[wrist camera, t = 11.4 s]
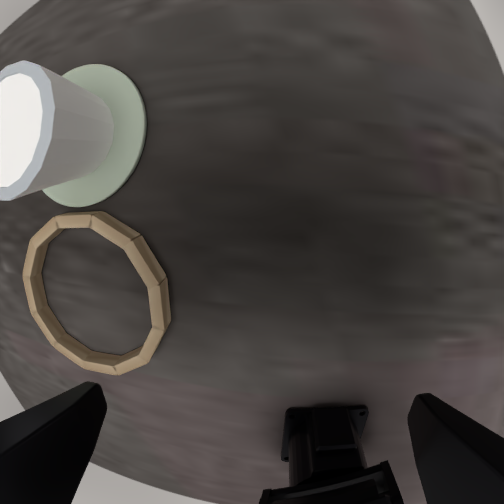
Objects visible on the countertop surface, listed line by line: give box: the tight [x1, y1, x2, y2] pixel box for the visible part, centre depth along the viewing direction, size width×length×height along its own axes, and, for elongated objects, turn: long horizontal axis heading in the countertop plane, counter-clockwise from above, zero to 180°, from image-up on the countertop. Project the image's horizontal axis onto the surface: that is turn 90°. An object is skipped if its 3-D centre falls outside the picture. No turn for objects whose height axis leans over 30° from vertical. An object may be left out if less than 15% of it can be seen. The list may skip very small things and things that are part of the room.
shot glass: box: [0, 60, 114, 201], centre depth 14 cm, size 7×7×7 cm
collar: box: [23, 211, 171, 375], centre depth 20 cm, size 12×12×2 cm
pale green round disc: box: [42, 64, 147, 207], centre depth 17 cm, size 10×10×1 cm
